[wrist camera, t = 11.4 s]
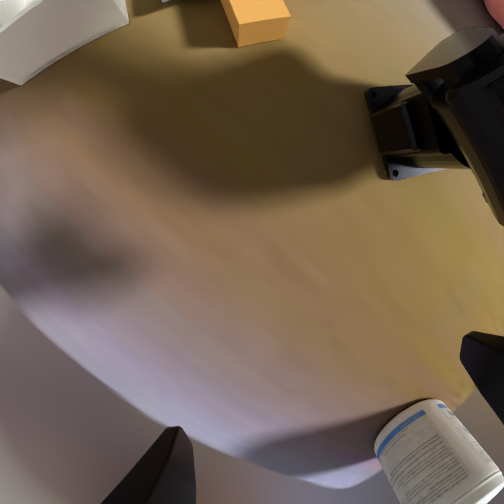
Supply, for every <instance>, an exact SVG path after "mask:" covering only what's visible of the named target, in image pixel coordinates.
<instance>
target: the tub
mask: <svg viewBox="0 0 504 504" xmlns="http://www.w3.org/2000/svg"><path fill="white" fill-rule="evenodd" d="M127 24H129V18H128V13H127V8H126V2H125V0H0V78H1V79H4V80H7V81H10V82H13V83H15V84H18V85H23V84H24V83H25V82H27V81H28V80H30V79H31V78H32V77H34V76H35V75H37V74H38V73H39V72H41V71H42V70H44V69H45V68H47V67H48V66H50V65H51V64H53V63H55V62H56V61H58V60H59V59H61V58H63V57H64V56H66V55H68V54H69V53H71V52H73V51H75V50H76V49H78V48H80V47H82V46H84V45H85V44H87V43H89V42H91V41H93V40H95V39H97V38H99V37H101V36H103V35H105V34H107V33H109V32H111V31H114V30H116V29H118V28H120V27H123V26H125V25H127Z"/></svg>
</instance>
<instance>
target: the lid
mask: <svg viewBox="0 0 504 504" xmlns="http://www.w3.org/2000/svg"><path fill="white" fill-rule="evenodd" d="M166 1H169V0H162V3H163V2H166ZM221 3H222V5H223V8H224V11H225V13H226V16H227V18H228V21H229V23H230V26H231V29H232V31H233V34H234V37H235V39H236V42H237V45H238V47H242V46H247V45H252V44H257V43H262V42H267V41H273V40H280V39H283V37H284V34H285V31H286V29H287V26H288V23H289V20H290V17H291V16H290V14H289V12H288V10H287V8H286V6H285V4H284V2H283V0H221Z"/></svg>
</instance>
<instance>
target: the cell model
mask: <svg viewBox="0 0 504 504" xmlns="http://www.w3.org/2000/svg"><path fill="white" fill-rule="evenodd" d="M484 3H485V5H486V8H487V10H488V12H489V14H490V15H491V16H492V17H493V19H494V20H495V21H496V22H497V23H498V24H499V25H500V26H501V27H502V28H503V30H504V0H484Z"/></svg>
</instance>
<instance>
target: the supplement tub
mask: <svg viewBox="0 0 504 504" xmlns="http://www.w3.org/2000/svg"><path fill="white" fill-rule="evenodd" d="M374 451H375V454H376V456H377V458H378V460H379V462H380V464H381V466H382V468H383V470H384V472H385V474H386V476H387V477H388V479H389V481H390V484H391V485H392V488H393V490H394V491H395V493H396V495H397V497H398V499H399V501H400V503H401V504H486V503H488V501H490V500H491V499H492V498H493V497H494V496H495V495H496V494H497V493H498V492H499V491H500V490H501V489H502V488H503V487H504V477H503V476H502V473H501V471H499V468H498V467H497V466H496V465H495V463H494V462H493V461H492V460H491V458H490V457H489V456H488V455H487V453H486V452H485V451H484V450H483V448H481V446H480V445H479V444H478V442H477V441H476V440H475V439H474V438H473V436H472V435H471V434H470V433H469V432H468V431H467V429H466V428H465V427H464V426H463V425H462V424H461V422H460V421H459V420H458V419H457V418H456V417H455V415H454V414H453V413H452V412H451V411H450V410H449V408H448V407H447V406H446V405H445V404H444V403H443V402H442V401H440V400H437V399H428V400H424V401H421V402H418V403H416V404H414V405H412V406H411V407H409V408H407V409H406V410H404V411H402V412H401V413H399V414H398V415H397V416H395V417H394V418H393V419H392V420H391V421H390V422H389V423H388V424H387V425H386V426H385V427H384V428H383V429H382V431H381V432H380V433H379V435H378V437H377V439H376V441H375V445H374Z"/></svg>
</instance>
